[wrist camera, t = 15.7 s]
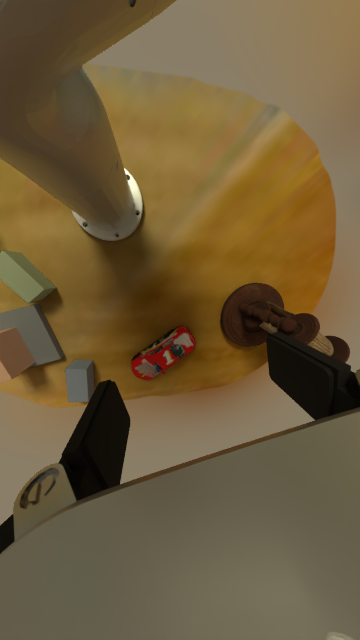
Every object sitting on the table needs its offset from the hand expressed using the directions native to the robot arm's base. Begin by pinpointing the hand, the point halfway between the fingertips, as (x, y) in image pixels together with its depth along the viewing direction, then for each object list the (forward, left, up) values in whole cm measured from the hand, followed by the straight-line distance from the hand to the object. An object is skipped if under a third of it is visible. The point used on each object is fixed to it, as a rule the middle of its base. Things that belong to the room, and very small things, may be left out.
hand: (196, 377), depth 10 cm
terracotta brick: (+1, -32, -27) cm, 42 cm away
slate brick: (+12, -23, -28) cm, 39 cm away
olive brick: (-11, -24, -28) cm, 39 cm away
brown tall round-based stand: (+8, +18, -29) cm, 35 cm away
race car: (+11, -4, -29) cm, 31 cm away
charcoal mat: (0, -32, -28) cm, 43 cm away
